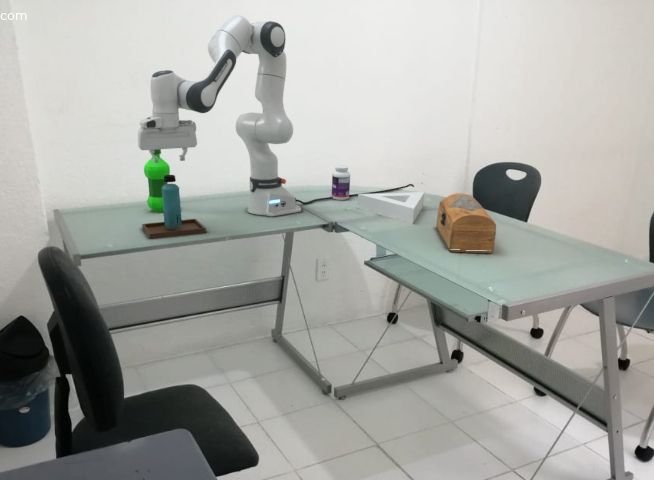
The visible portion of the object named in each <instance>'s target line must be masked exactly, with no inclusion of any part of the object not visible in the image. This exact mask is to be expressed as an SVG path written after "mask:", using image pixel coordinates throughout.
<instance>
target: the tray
mask: <svg viewBox="0 0 654 480" xmlns="http://www.w3.org/2000/svg"><path fill="white" fill-rule="evenodd" d="M141 228H142V230H143V232H144V233H145V234H146V235H147V237H148V238H149V239H150V240H152V239H162V238H169V237H179V236H188V235H189V236H190V235H198V234H206V227H205V226H204V225H203V224H202V223H201V222H200V221H199V220H197V219H196V218H190V219H189V218H188V219H182V225H181V226H180V227H175V228H170V227H166V226H165V222H164V221H161V222H149V223H142V224H141Z"/></svg>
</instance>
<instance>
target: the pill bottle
mask: <svg viewBox="0 0 654 480" xmlns="http://www.w3.org/2000/svg"><path fill="white" fill-rule="evenodd" d="M350 186H351V173H350V172H349V167H348V166H347V165H335V171H333V172H332V175H331V197H333V199H332V200H336V201H346V200H348V199H349V198H350V197H349V195H350V190H351V189H350V188H351V187H350Z"/></svg>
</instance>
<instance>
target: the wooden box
mask: <svg viewBox="0 0 654 480" xmlns="http://www.w3.org/2000/svg"><path fill="white" fill-rule="evenodd" d="M435 224H436V225H435V227H436V230H437V232H438V233H439V235H440V237H441V239H442V241H443V242H444V244H445V246H446V248H447V250H448V251H449V252H451V253H472V254H493V253H494V248H495V243H496V242H495V240H496V234H497V224H496V222H495V220H494V219H493V218H492V217H491V215H490V214H488V212H487V211H486V210H485V208H484V207H483V206H482V205H481V203H479V201H478V200H476V198H474V197H473V196H472V195H470V194H467V193H460V192H459V193H458V192H457V193H453V194H450V195H448V196H446V197H444V198H443V199H441V200H440V201H439V206H438V209H437V217H436V223H435ZM446 243H447V244H446ZM447 245H448V246H447ZM448 247H449V248H448ZM450 249H460V250H450ZM466 250H491V251H466Z"/></svg>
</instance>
